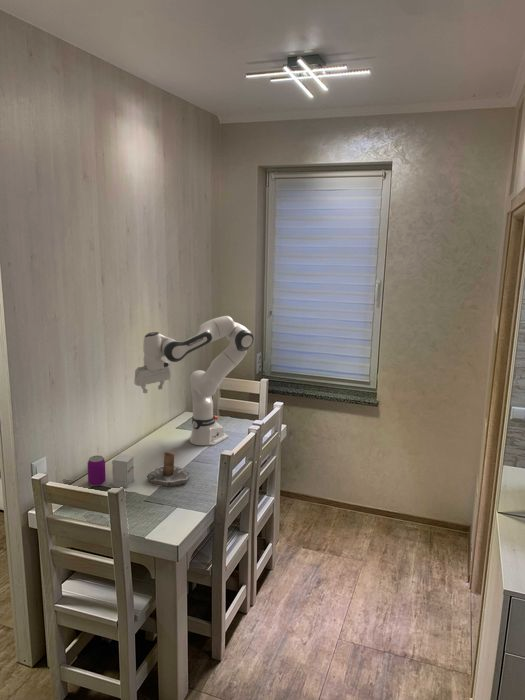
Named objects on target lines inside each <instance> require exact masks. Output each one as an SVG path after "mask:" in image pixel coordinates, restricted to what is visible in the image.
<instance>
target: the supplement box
mask: <svg viewBox="0 0 525 700" xmlns="http://www.w3.org/2000/svg"><path fill="white" fill-rule="evenodd" d="M134 459H135V458H134V455H129V454H122V453H120V454H118V455H117V456H116V457H115V458H113V459H112V460H111V464H112V465H111V467H112V468H111V469H112V471H111V472H112V473H111V474H112V486H113V487H119V488H126V489H127V488H128V487H129V486H130V485H131V484H132V483H133V482H134V481H135V460H134Z"/></svg>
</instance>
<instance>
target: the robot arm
mask: <svg viewBox="0 0 525 700" xmlns="http://www.w3.org/2000/svg"><path fill="white" fill-rule="evenodd" d="M197 330H198V333H197V334H196V335H194V336H192V337H189V338H188V339H186V340H184V341H177V340H176V339H174V338H172V337H168V336H166V335H163V334H161V333H160V332H158V331H155V332H154V331H153V332H148V333H146V334H145V336H144V337H143V346H142V347H143V353H144V354H143V366H138V367H137V368H136V369H135V370H134V380H133V381H134V385H136V386H137V387H141V389H142V392H143V394H147V393H148V389H147V388H146V386H147V385H151V384H155V383H159V385H158V386H157V389H158V390H163V386H164V384H165V381H168V380H170V379H171V367H170V365H171V363H170V362H172V363H177V362H179V361H182V360H183V359H184V358H185V357H186V356H187V355H188V354H191V352H194V351H196V350H198V349H200V348H201V347H204V346H207V344H211V343H213V342H215V341H218V340H219V339H222V338H226V339H227V340H228V341H229V342H230V343H229V344H228V346H227V347H226V348H225V349H223V350H222V351H221V352H220V353H219V354H218V355H217V356H216V357H214V359H213V360H211V362H210V365H209V367H207V369H206V371H205V370H200V369H198V370H194V371H193V372H192V373H191V375H190V379H189V381H190V389H191V399H192V416H191V425H192V426H191V434H190V438H189V442H190V443H191V444H192V445H195V446H196V445H197V446H215V445H217V444H219V443H221V442H222V441H224V440H227V439H229V435H228V434H227V433H225V431H224V427H223V426H222V425H221V424H220V423H218V422H217V421H218V420H219V416H217V415H214V401H213V396H214V395H215V394H216V392H217V390H218V387H219V386H220V385H221V383H222V382H223V381H224V379H225V378H226V377H227V376H228V374H229V373H231V372H232V370H234V369H235V368H236V367H237V366H238V365H239V364H240V363H241V361H242V360H244V358H245V357H246V355H247V353H248V351H247V350H249V349H250V347H252V344H253V343H254V339H255V338H254V334H253V333H252V331H251V330H250V329H248V328H247V327H246V326H244V325H242V324H240V322H238V321H236V320H234V319H233V318H232V317H231V316H230V315H223V316H222V315H221V316H218V317H214V318H212V319H210V320H207V321H205V322H204V323H202V324H200V325H199V327H198V329H197ZM163 357H164V358H166V359H167V360H168V361H166V360H163V359H162V358H163ZM169 361H170V362H169Z"/></svg>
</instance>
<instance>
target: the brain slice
mask: <svg viewBox="0 0 525 700" xmlns="http://www.w3.org/2000/svg"><path fill="white" fill-rule="evenodd" d="M146 479H147V482H148V483H149V484H151V485H152V486H159V487H175V486H182V485H184V484H186V483H187V482H188V481H189V479H190V472H189V471H187V470H186V469H184V468H182V467H180V466H176V465H174V472H173V475H171V476H166V475H163V466H159V467H157V468H155V469H153V470H152V471H150V472H149V473H147V475H146Z"/></svg>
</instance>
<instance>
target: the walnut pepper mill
mask: <svg viewBox="0 0 525 700" xmlns="http://www.w3.org/2000/svg"><path fill="white" fill-rule="evenodd" d="M175 456H176V453H175V452H174V451H165V452H164V455H163V465H162V467H163V475H166V476H171V475H173V472H174V466H175Z"/></svg>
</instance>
